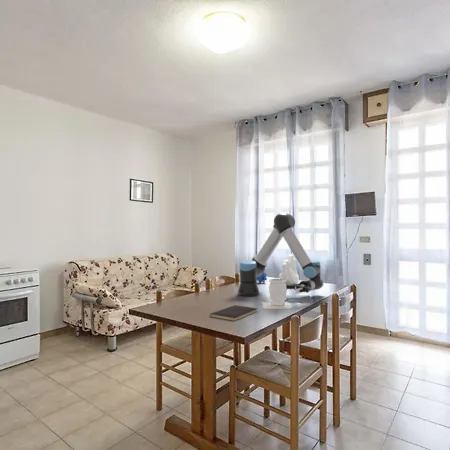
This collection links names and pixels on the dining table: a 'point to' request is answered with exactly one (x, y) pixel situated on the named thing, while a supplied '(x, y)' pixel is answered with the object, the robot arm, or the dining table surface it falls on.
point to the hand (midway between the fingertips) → (286, 290)
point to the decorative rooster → (289, 270)
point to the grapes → (261, 278)
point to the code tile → (269, 306)
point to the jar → (277, 291)
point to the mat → (299, 298)
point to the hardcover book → (233, 312)
